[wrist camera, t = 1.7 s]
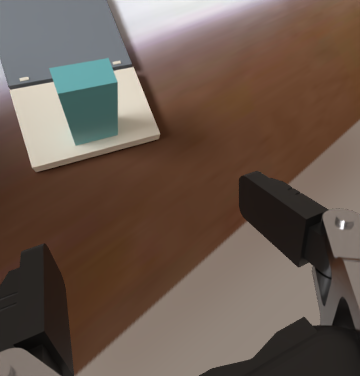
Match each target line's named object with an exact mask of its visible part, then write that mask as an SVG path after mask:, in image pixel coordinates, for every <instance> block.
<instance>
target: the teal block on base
mask: <svg viewBox="0 0 360 376" xmlns="http://www.w3.org/2000/svg"><path fill="white" fill-rule="evenodd" d="M49 69H50V72H51V75H52V78H53V82H50V83H45V84H39V85H34V86H28V87H23V88H17V89H12V90H9V91H10V94H11V97H12V101H13V104H14V108H15V111H16V114H17V118H18V121H19V125H20V128H21V131H22V135H23V138H24V142H25V145H26V149H27V152H28V155H29V159H30V162H31V166H32V168H33V169H34V171H35V172H39V171H43V170H47V169H50V168H54V167H58V166H61V165H65V164H69V163H72V162H76V161H80V160H83V159H87V158H91V157H95V156H98V155H102V154H106V153H109V152H113V151H117V150H120V149H124V148H128V147H131V146H135V145H139V144H143V143H146V142H150V141H154V140H157V139H159V136H160V132H159V129H158V127H157V124H156V122H155V119H154V117H153V114H152V112H151V109H150V107H149V104H148V102H147V99H146V97H145V94H144V92H143V89H142V87H141V84H140V82H139V79H138V77H137V75H136V72H135V70H134V67H131V68H126V69H120V70H115V71H113V68H112V66H111V63H110V61H109V58H106V59H100V60H95V61H89V62H83V63H77V64H71V65H65V66H59V67H53V68H49Z"/></svg>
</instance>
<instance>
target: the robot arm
mask: <svg viewBox="0 0 360 376" xmlns="http://www.w3.org/2000/svg"><path fill="white" fill-rule="evenodd" d="M239 208H240V211H241V214H242V215H243V217H244V218H245V219H246V220H247V221H248V222H249V223H250V224H251V225H252V226H253V227H255V228H256V229H257V230H258V231H259V232H260V233H261V234H263V236H264V237H266V238H267V239H268V240H269V241H270V242H271V243H272V244H273V245H274V246H275V247H277V248H278V249H279V250H280V251H281V252H282V253H283V254H284V255H285V256H286V257H288V258H289V259H290V260H291V261H292V262H293V263H294V264H295V265H296V266H297V267H301V266H303V265H305V264H307V263H311V264H312V265H313V267H312V274H313V279H314V285H315V290H316V295H317V300H318V305H319V310H320V325H317V326H312V325H311V324H310V323H309V322H308V320H307V319H306V318H305V317H303V318H301V319H299V320H298V321H296V322H294V323H293V324H290V325H289V326H287V327H285V328H283V329H282V330H280V331H278V332H277V333H276V334H275V335H274V336H273V337H272V338H271V339H270V340H269V341H268V342H267V343H266V344H265V345H264V347H263V348H262V349H261V350H260V351H259V352H258V353H257V354H256V355H255V356H254V357H253V358H252V359H250V360H246V361H242V362H238V363H233V364H229V365H224V366H220V367H216V368H212V369H210V370H208V371H207V372H205V373H203V374H201V375H199V376H360V214H359V213H356V212H354V211H351V210H348V209H340V208H338V209H331V210H328V209H327V208H325V207H323V206H322V205H320V204H318V203H317V202H315V201H313V200H312V199H310V198H309V197H307V196H305V195H304V194H302V193H301V194H300V192H299V191H297V190H296V189H293V188H292V187H291V186H289V185H288V184H286V183H284V182H283V181H279V180H276V179H273V178H268V177H267V176H265V175H264V174H262V173H261V172H259V171H255V172H252V173H249V174H246V175H243V176H241V177H240V179H239ZM0 376H74V371H73V360H72V350H71V340H70V330H69V319H68V309H67V299H66V289H65V284H64V280H63V277H62V275H61V272H60V270H59V268H58V266H57V264H56V262H55V260H54V258H53V256H52V254H51V252H50V250H49V248H48V247H47V245H46V244H45V243H44V244H41V245H38V246H36V247H33V248H30V249H27V250H24V251H22V252H21V259H20V268H17V269H14V270H11V271H9V272H8V274H7V276H6V277H5V279H4V280H3V282H2V284H1V285H0Z"/></svg>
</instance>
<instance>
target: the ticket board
mask: <svg viewBox="0 0 360 376" xmlns="http://www.w3.org/2000/svg"><path fill="white" fill-rule="evenodd" d="M106 58H109V61H110V63H111V66H112V68H113V71H115V70H120V69H126V68H131V67H132V63H131V60H130V58H129V55H128V53H127V50H126V48H125V45H124V43H123V40H122V38H121V35H120V33H119V30H118V28H117V25H116V23H115V20H114V18H113V15H112V13H111V10H110V8H109V5H108V3H107V0H0V59H1V63H2V66H3V70H4V73H5V76H6V80H7V83H8V86H9V88H10V90H12V89H17V88H23V87H28V86H34V85H39V84H45V83H50V82H53V78H52V75H51V72H50V69H49V68H53V67H59V66H65V65H71V64H77V63H83V62H89V61H95V60H100V59H106Z"/></svg>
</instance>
